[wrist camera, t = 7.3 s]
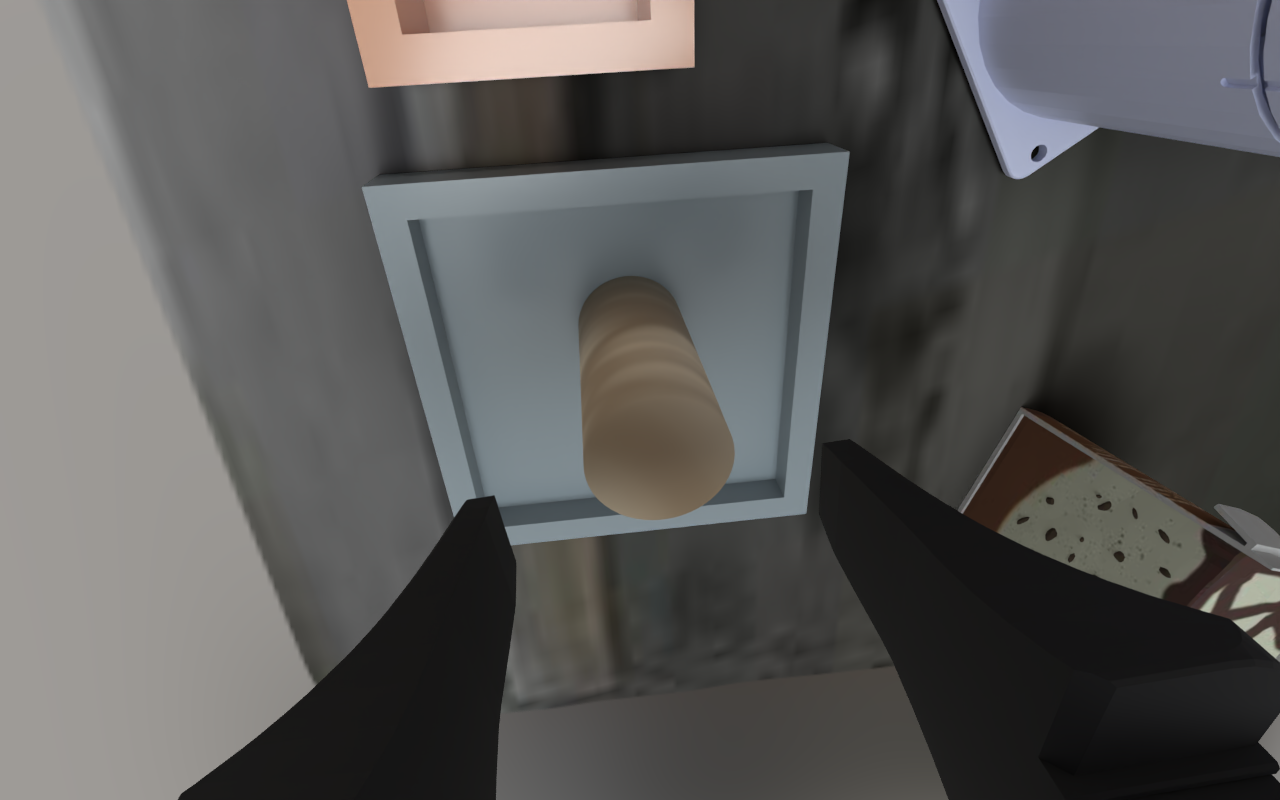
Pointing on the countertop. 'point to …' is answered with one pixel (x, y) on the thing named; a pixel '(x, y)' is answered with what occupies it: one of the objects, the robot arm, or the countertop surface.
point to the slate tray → (565, 277)
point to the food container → (1127, 526)
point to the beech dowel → (647, 405)
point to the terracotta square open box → (518, 38)
